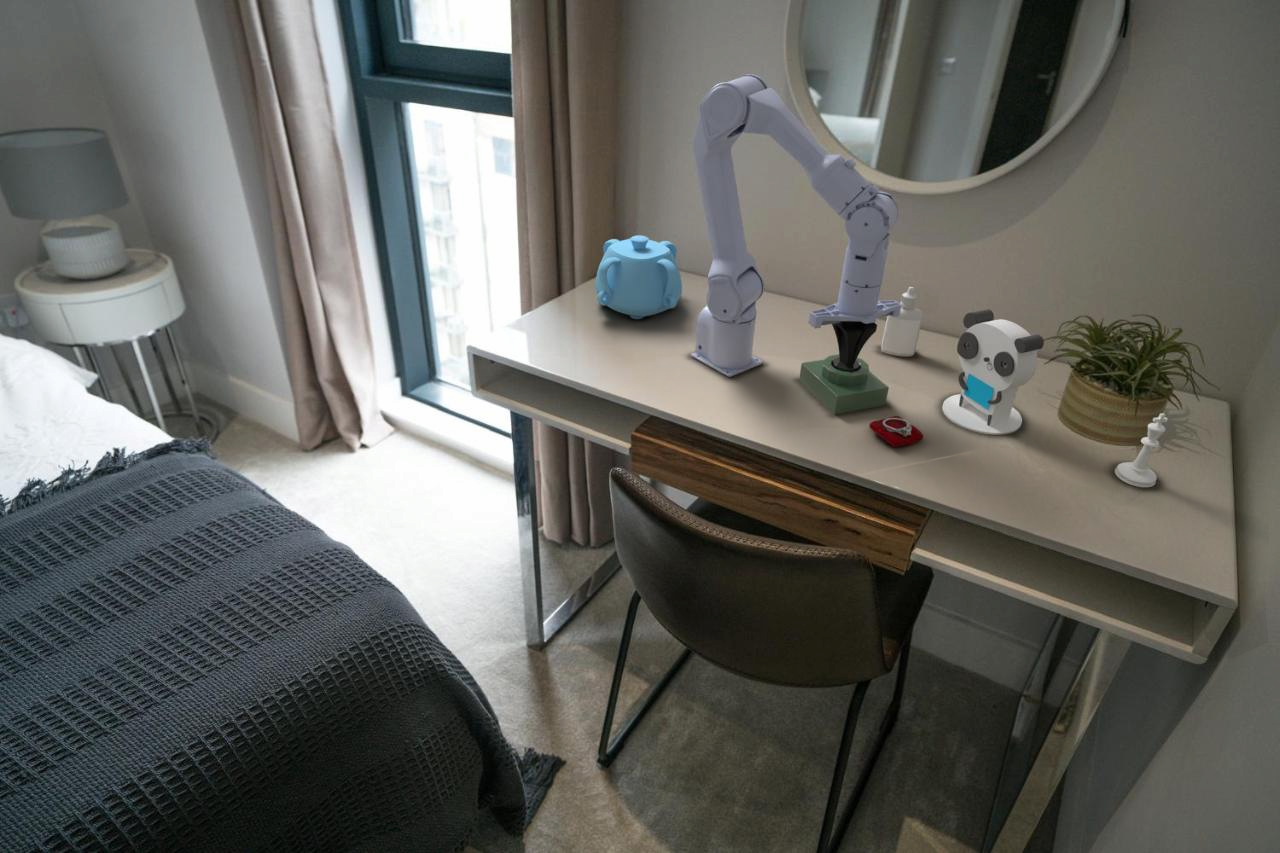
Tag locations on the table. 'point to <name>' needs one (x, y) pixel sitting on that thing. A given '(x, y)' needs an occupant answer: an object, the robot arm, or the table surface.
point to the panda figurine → (991, 373)
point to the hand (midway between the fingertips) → (846, 362)
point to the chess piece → (1143, 458)
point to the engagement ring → (896, 431)
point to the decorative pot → (638, 276)
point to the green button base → (843, 386)
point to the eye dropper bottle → (903, 328)
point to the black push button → (840, 366)
